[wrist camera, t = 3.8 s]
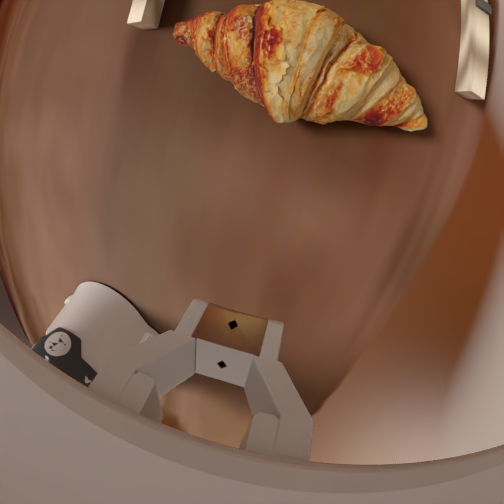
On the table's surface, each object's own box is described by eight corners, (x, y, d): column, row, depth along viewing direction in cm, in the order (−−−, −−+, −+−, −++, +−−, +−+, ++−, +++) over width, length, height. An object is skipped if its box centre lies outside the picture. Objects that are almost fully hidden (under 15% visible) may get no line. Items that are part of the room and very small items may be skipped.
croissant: (413, 97, 19) (459, 59, 11) (396, 186, 20) (456, 165, 12) (206, 22, 19) (194, -35, 11) (157, 99, 19) (121, 46, 11)
